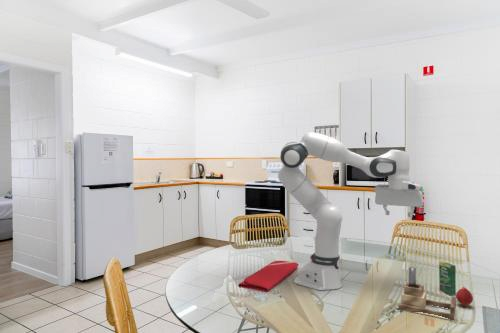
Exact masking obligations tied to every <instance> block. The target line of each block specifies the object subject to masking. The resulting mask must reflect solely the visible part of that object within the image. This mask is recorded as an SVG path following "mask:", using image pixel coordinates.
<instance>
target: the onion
mask: <svg viewBox="0 0 500 333" xmlns="http://www.w3.org/2000/svg"><path fill="white" fill-rule="evenodd" d="M455 297H456V301H457V302H458V303H459V304H460V305H461V306H462V307H468V306H470V305H471V304H472V303H473V302H474V301H473V300H474V296H473V294H472V293H471V291H470V290H469V289H467V288H466V286H462V287H461V288H460V289H459V290H457V291H456V295H455Z"/></svg>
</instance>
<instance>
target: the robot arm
mask: <svg viewBox="0 0 500 333" xmlns="http://www.w3.org/2000/svg"><path fill="white" fill-rule="evenodd" d="M308 156H312V157H315V158H317V159H321V160H324V161H327V162H331V163H343V164H345V165H349V166H352V167H353V168H356V169H359V170H361V171H362V172H363V173H364V174H365V175H366V176H367V177H369V178H378V179H381V178H386V177H388V179H387V180H388V182H387V184H378V185H376V186H375V187H374V193H375V197H374V198H375V199H374V203H375V204H376V205H380V206H382V207H383V210H384V211H385V216H389V215H390V210H388V209H387V207H388V206H397V207H399V206H400V207H409V208H410V211H408V212H407V217H412V216H413V212H414V211H415V208H422V207H423V206H424V195H423V192H422V191H421V185H420V184H419V183H415V182H412V181H410V175H409V172H410V155H409V153H408V152H407V151H406V150H403V149H397V148H393V149H390V150H389V151H387V152H386V153H383V154H381V155H377V156H364V155H362V154H358V153H356V152H353V151H351V150H349V149H348V148H347V147H346V146H345V144H343V143H342V141H340V140H338V139H336V138H334V137H332V136H330V135H326V134H322V133H320V132H314V131H307V132H306V133H304V134H303V136H302V137H301V140H300V141H299V142H296V141H291V142H287V143H286V144H285V145H284V146H283V147H282V148H281V151H280V156H279V157H280V161H281V163H282V165H283V166H282V167H281V169H280V170H279V171H278V174H277V176H278V177H277V178H278V180H279V181H280V183H281V185H282V186H283V187H284V188H285V190H286V191H287V192H288V193H289V194H290V195H291V196H292V197H293V198H294V199H295V200H296V201H297V202H298V203H299V204H300V205H301V206H302V207H303V209H304V210H306V211H307V213H308V214H310V215H311V216H312V218H314V219H315V220H316V231H315V237H314V252H313V254H311V255H310V257H309V259H310V262H308V263H306V264H305V265H304V266H302V267H301V268H300V270H299V273H298V276H296V277H295V278H294V280H293V283H294V284H295V285H300V286H302V287H303V286H304V287H306V288H310V289H313V290H316V291H325V290H337V289H340V288H342V287H343V284H342V279H341V274H340V267H341V259H340V257H341V256H340V253H339V252H340V249H339V248H340V244H339V242H340V235H341V234H340V233H341V227H342V221H343V214H342V211H341V209H340V208H339V207H338V206H337V205H335V204H333V203H332V202H331V201H330V200H329V199H328V198H327V197H326V196H325V195H324V193H322V191H321V190H320V189H319V188H318V187H317V186H316V185H315V184H314V183H313V182H312V181H311V180H310V178H308V177H307V176H306V175H305V173H303V172H302V170H301V168H300V166H301V165H302V164H303V162H304V161H305V160H306V159H307V157H308Z"/></svg>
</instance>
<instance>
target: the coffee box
mask: <svg viewBox="0 0 500 333" xmlns="http://www.w3.org/2000/svg"><path fill="white" fill-rule="evenodd" d="M438 267H439V269H438V270H439V272H438V273H439V275H438V276H439V277H438V279H439V283H438V285H439V291H441V292H443V293H445V294H446V295H449V296H451V297H455V296H456V293H457V291H456V290H457V289H456V287H457V286H456V285H457V284H456V280H457V279H456V270H457V269H456V267H457V266H456V265H454V264H452V263H449V262H446V261H444V260H443V261H442V260H441V261H438Z"/></svg>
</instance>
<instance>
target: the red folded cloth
mask: <svg viewBox="0 0 500 333" xmlns="http://www.w3.org/2000/svg"><path fill="white" fill-rule="evenodd" d="M298 267H299V263H298V262H294V261H289V260H288V261H287V260H286V261H285V260H274V261H271V262H270V263H268V264H267V265H266V266H263V267H262V268H261V269H259V270H258V271H255V272H254V273H252V274H250V275H249V276H247V277H245V278H244V280H243V281H242V282H240V283H238V287H239V288H244V289H249V290H254V291H260V292H264V293H269V291H271V290H272V289H273V288H275V287H277V285H279V284H280V283H281V282H282V281H283V280H285V279H286V278H287V277H289V276H290V275H291V274H292V273H293V272H294V271H295V270H296V269H297V268H298Z"/></svg>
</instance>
